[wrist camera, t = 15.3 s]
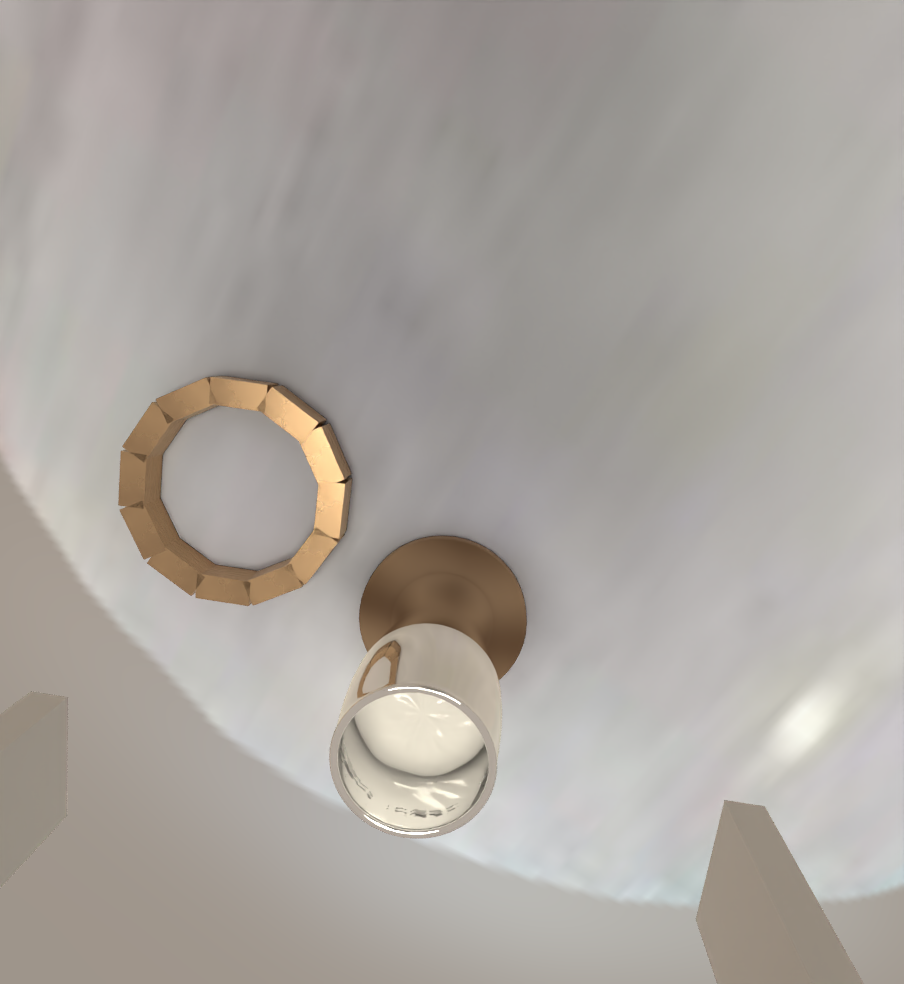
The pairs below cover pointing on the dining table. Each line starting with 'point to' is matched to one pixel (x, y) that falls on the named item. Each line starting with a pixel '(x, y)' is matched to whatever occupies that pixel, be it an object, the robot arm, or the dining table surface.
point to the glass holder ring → (156, 526)
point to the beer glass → (423, 715)
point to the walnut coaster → (459, 561)
